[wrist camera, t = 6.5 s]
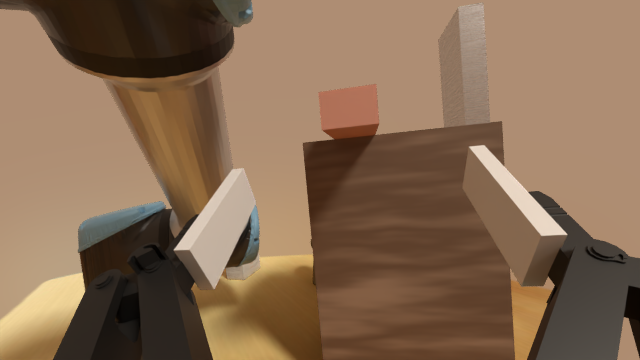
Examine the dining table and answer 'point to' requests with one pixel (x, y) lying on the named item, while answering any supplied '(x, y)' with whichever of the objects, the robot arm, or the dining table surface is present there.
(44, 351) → the dining table surface
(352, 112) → the terracotta clay brick
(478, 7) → the bookend
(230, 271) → the small box
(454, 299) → the wooden block pedestal
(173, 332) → the robot arm
